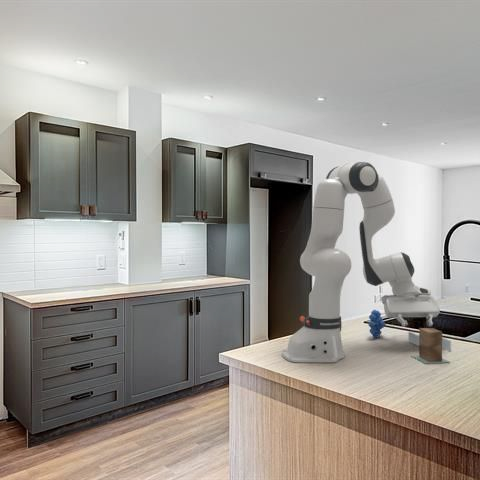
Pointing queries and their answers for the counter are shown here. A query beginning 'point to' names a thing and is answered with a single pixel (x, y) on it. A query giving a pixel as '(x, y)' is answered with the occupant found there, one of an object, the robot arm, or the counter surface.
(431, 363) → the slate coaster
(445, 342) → the acrylic channel
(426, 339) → the walnut block
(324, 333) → the robot arm
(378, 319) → the grapes
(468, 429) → the counter surface
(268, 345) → the counter surface
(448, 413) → the counter surface
